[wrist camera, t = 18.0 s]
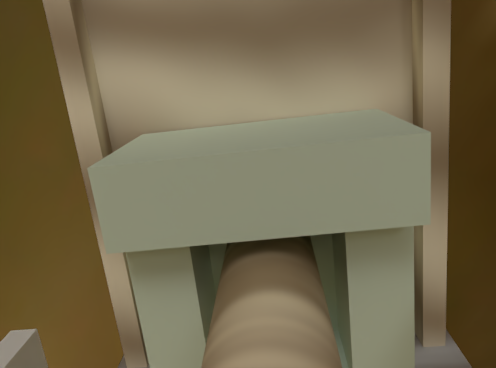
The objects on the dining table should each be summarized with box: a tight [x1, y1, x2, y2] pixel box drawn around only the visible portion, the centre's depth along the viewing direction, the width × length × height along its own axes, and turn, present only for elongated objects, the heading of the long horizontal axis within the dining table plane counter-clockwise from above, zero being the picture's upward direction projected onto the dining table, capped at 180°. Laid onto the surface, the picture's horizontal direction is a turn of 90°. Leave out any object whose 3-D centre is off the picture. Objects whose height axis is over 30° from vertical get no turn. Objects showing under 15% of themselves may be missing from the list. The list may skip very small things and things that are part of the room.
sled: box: [87, 109, 431, 368], centre depth 17 cm, size 11×10×6 cm
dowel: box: [201, 236, 342, 368], centre depth 12 cm, size 4×4×14 cm
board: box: [43, 0, 472, 368], centre depth 17 cm, size 21×16×5 cm
